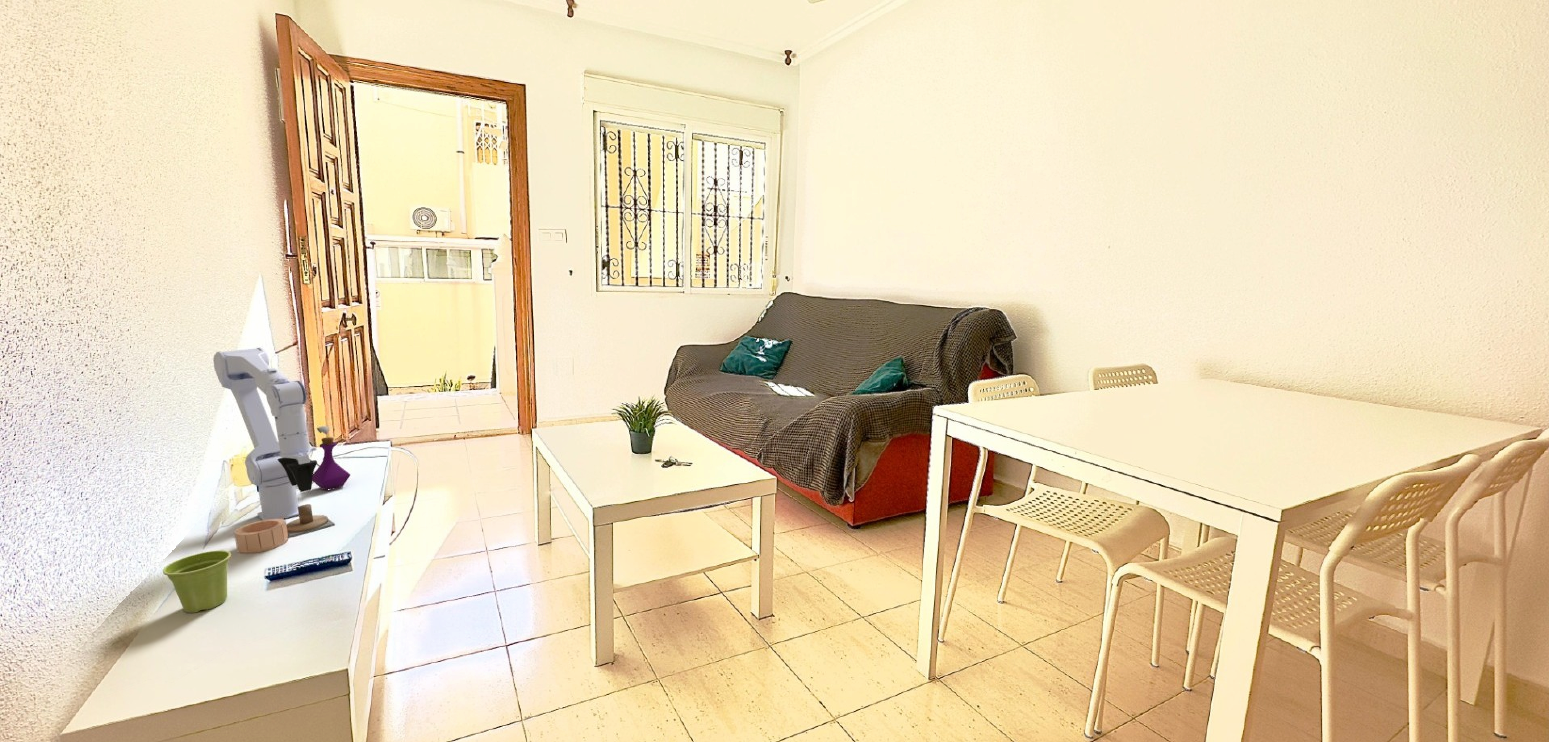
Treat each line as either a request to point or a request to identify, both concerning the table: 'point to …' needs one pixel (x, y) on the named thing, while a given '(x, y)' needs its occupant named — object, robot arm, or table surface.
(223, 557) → the plant pot
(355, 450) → the table surface
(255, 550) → the peach cylinder
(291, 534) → the mat
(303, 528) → the lid
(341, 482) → the perfume bottle
